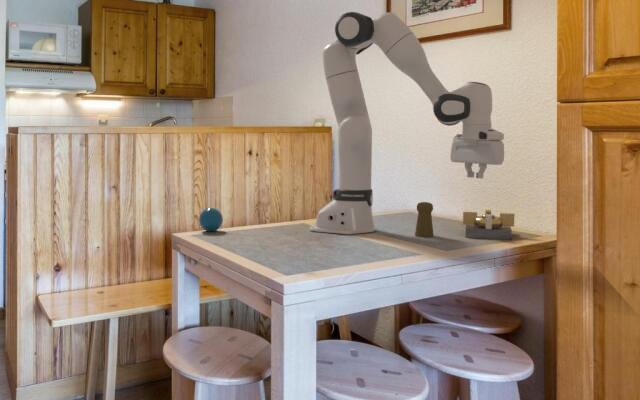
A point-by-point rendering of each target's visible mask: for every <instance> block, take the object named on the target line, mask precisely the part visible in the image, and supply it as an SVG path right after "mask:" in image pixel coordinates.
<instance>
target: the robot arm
mask: <svg viewBox="0 0 640 400" xmlns="http://www.w3.org/2000/svg"><path fill="white" fill-rule="evenodd" d="M334 33H335V37H336V40H335V41H332V42H331V43H329V44H326V46H325V47H324V48H323V51H322V62H323V63H322V64H323V71H324V72H323V73H324V76H325V82H326V85H327V89H328V94H329V97H330V103H331V105H332V108H333V111H334V116H335V119H336V122H337V127H338V131H337V132H338V133H337V134H338V135H337V137H338V139H337V140H338V141H337V143H338V146H337V147H338V188H335V189H334V190H333V191H332V198H333V199H332V200H331V201H329V202H328V203H327V204H325V206H324V207H322V208H321V209H320V210H319V211H318V213H317V216H316V219H315V223H314V224H311V225H310V226H309V231H311V232H319V233H331V234H342V235H354V234H365V233H372V232H373V233H374V232H375V231H376V226H375V224H374V217H373V208H372V207H373V202H374V201H373V200H374V195H373V194H374V193H373V189H372V169H373V168H372V162H373V160H372V159H373V158H372V154H373V152H372V151H373V150H372V148H373V147H372V146H373V145H372V144H373V128H372V125H371V120H370V117H369V113H368V112H369V111H368V107H367V103H366V99H365V95H364V94H365V93H364V91H363V86H362V82H361V78H360V74H359V73H360V72H359V70H358V66H357V61H356V56H357V55H360V54H361V53H362V52H364V51H366V50H367V49H369V48H370V47H371V46H372V45H373V44H375V45H376V46H377V47H378V48H379V49H380V50H381V51H382V52H383V54H384V55H385V57H386V58H387V59H388V60H389V61H390V62H391V63H392V65H393V66H395V67H396V68H397V69H398V70H399V71H400V72H402V73H403V74H405V75H406V76H408V77H409V78H410V79H411V80H413V81H414V82H415V83H416V84H417V85H418V87H420V89H421V90H422V92H423V93H424V95H426V97H427V99H429V101H430V103H431V104H432V110H433V114H434V116H435V117H436V119H437V120H438V122H440V124H442V125H445V126H447V127H448V126H449V127H450V126H452V127H453V126H456V125H458V124H459V123H460V122H462V133H461V134H460V133H458V134H456V135H455V136H454V137H453V138H452V144H451V149H450V161H451V162H452V163H458V164H459V163H461V164H462V163H463V164H464V168H465V171H466V177H467V178H473V179H474V177H475V178H476V179H484V174H485V172H486V169H487V167H488V165H492V166H495V165H496V166H498V165H499V166H500V165H502V164H503V163H504V161H505V144H504V142H503V141H504V139H505V134H504V133H503V132H500V131H499V130H497V129H494V128H492V120H491V119H492V116H491V115H492V112H493V93H492V89H491V87H490V86H489V85H488V84H486V83H482V82H480V81H479V82H477V81H468V82H466V83H465V84H464V85H462V86H461V87H459V88H456V89H455V90H452V91H449V90H448V89H446V87H445V86H444V84H443V83H442V81H440V79H439V78H438V77H437V75H436V74H435V73H434V71H433V70H432V68H431V65H430V64H429V61H428V57H427V55H426V52H425V51H424V48H423V45H422V44H421V42H420V41H419V38H418V37H417V36H416V34H415V33H414V32H413V31H412V30H411V28H410V27H409V25H407V24H406V22H404V21H403V20H402V19H401V18H400V17H399V16H398V15H397V14H395V13H394V12H390V11H389V12H385V13H382V14H380V15H379V16H377V18H374V19H372V17H370V16H368V15H365V14H362V13H360V12H357V11H356V12H355V11H348V12H345V13H343V14H341V15H340V16H339V17H338V18H337V20H336V22H335V25H334ZM473 164H475V165H477V164H478V168H479V169H478V172H475V171H473V169H472V167H473Z"/></svg>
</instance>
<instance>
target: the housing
mask: <svg viewBox="0 0 640 400" xmlns="http://www.w3.org/2000/svg"><path fill="white" fill-rule="evenodd" d="M512 232H513V231H512V226H501V227H492V229H486V228H485V227H481V226H476V225H466V224H465V236H464V237H465V238H466V239H467V238H468V239H488V240H503V241H505V240H506V241H507V240H508V241H512V235H513V234H512Z"/></svg>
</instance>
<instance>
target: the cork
mask: <svg viewBox="0 0 640 400" xmlns="http://www.w3.org/2000/svg"><path fill="white" fill-rule="evenodd" d="M416 210H417V212H418V214H417V219H416V225H415V232H414V236H415V237H418V238H426V239H427V238H433V237H434V229H433V227H434V226H433V218H432V212H433V210H434V205H433V204H432V203H431V202H427V201H422V202H418V203H417V205H416Z"/></svg>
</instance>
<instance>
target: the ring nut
mask: <svg viewBox="0 0 640 400" xmlns="http://www.w3.org/2000/svg"><path fill="white" fill-rule="evenodd" d="M462 213H463V214H462V225H465V226H466V225H476V226H481V227H485V228H486V229H492V227H501V226H510V227H511V228H512V227H513V228H514V227H515V213H512V212H511V213H508V212H506V213H505V212H500V213H499V216H496V215H494V214H492V210H491V209H485V211H484V213H485V214H482V215H478V212H477V211H462Z"/></svg>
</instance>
